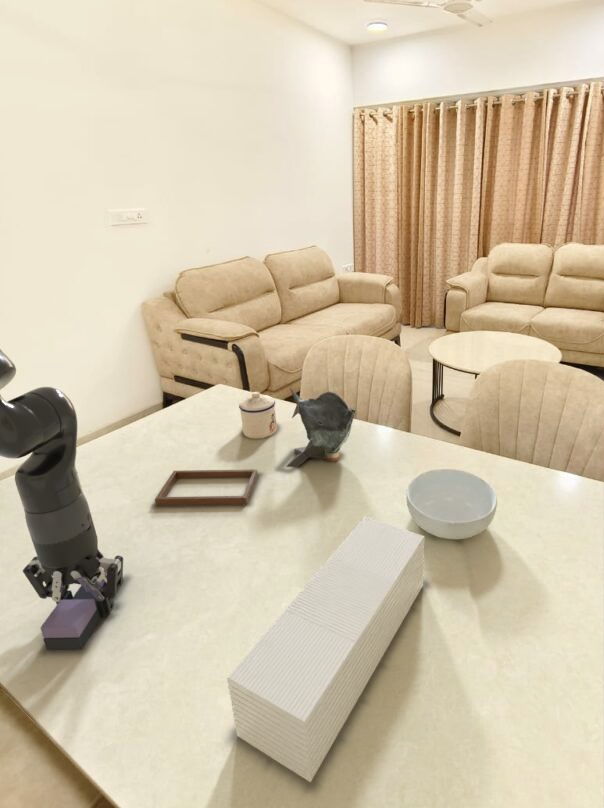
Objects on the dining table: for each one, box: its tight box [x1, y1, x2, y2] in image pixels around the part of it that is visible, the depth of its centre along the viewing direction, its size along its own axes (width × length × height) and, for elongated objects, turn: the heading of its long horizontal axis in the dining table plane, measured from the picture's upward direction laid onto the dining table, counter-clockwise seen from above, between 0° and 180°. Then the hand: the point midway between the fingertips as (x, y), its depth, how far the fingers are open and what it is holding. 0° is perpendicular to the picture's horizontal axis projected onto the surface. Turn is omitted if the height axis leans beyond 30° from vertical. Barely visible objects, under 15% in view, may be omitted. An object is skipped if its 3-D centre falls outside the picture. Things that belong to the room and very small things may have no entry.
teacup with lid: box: [238, 391, 278, 439], centre depth 131 cm, size 12×9×12 cm
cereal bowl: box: [405, 468, 498, 540], centre depth 96 cm, size 17×17×7 cm
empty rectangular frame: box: [154, 469, 259, 507], centre depth 107 cm, size 19×11×2 cm, turn 90°
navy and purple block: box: [40, 576, 125, 651], centre depth 77 cm, size 5×13×5 cm, turn 0°
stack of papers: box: [226, 516, 425, 783], centre depth 69 cm, size 32×11×11 cm, turn 152°
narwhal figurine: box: [285, 386, 356, 469], centre depth 115 cm, size 14×15×18 cm
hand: (88, 613), depth 77 cm, fingers closed on navy and purple block, 5 cm apart
